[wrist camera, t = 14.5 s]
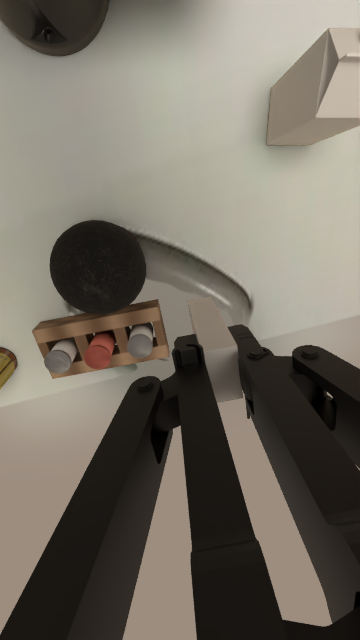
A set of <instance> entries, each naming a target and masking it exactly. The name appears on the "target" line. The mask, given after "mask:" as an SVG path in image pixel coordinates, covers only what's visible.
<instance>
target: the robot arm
mask: <svg viewBox="0 0 360 640" xmlns="http://www.w3.org/2000/svg"><path fill="white" fill-rule="evenodd" d="M108 3H109V0H0V19H1V20H2V21H3V23H4V24H5V25H6V26H7V27H8V28H9V30H10V31H11V32H12V33H13V34H14V35H15V36H16V37H17V38H18V39H20V40H21V41H22V42H23V43H25V44H26V45H28V46H29V47H31V48H32V49H34V50H36V51H39V52H41V53H44V54H48V55H54V56H63V55H69V54H73V53H75V52H77V51H79V50H81V49H83V48H84V47H86V46H87V45H88V44H89V43H90V42H91V41H92V40H93V39H94V38H95V36H96V35H97V33H98V32H99V30H100V28H101V26H102V24H103V22H104V19H105V16H106V12H107V8H108ZM188 306H189V312H190V317H191V323H192V328H193V334H192V335H187V336H182V337H177V339H176V340H175V342H174V345H175V348H174V349H173V351H172V356H173V361H174V365H175V370H176V371H175V373H174V374H173V375H172V376H170V377H169V378H167V379H165V380H163V381H160V380H159V378H157V377H154V376H147V377H142V378H139V379H137V380H136V381H134V382H133V383H132V384H131V386H130V387H129V389H128V391H127V393H126V395H125V396H124V399H123V400H122V402H121V404H120V406H119V408H118V410H117V412H116V414H115V416H114V418H113V419H112V422H111V423H110V425H109V427H108V429H107V431H106V433H105V435H104V437H103V439H102V441H101V443H100V445H99V446H98V448H97V450H96V452H95V454H94V456H93V458H92V460H91V462H90V464H89V466H88V467H87V469H86V471H85V473H84V475H83V477H82V479H81V481H80V483H79V485H78V487H77V489H76V490H75V492H74V494H73V496H72V498H71V500H70V502H69V504H68V506H67V508H66V510H65V512H64V513H63V515H62V517H61V519H60V521H59V523H58V525H57V527H56V529H55V531H54V533H53V535H52V537H51V539H50V541H49V542H48V544H47V546H46V548H45V550H44V552H43V554H42V556H41V558H40V560H39V561H38V563H37V565H36V567H35V569H34V571H33V573H32V575H31V577H30V579H29V581H28V583H27V584H26V586H25V588H24V590H23V592H22V594H21V596H20V598H19V600H18V602H17V604H16V606H15V608H14V609H13V611H12V614H11V615H10V617H9V619H8V621H7V623H6V625H5V627H4V629H3V630H2V633H1V635H0V640H122V638H123V635H124V631H125V627H126V623H127V618H128V614H129V610H130V606H131V602H132V598H133V594H134V590H135V586H136V582H137V578H138V574H139V569H140V565H141V561H142V557H143V553H144V549H145V545H146V541H147V537H148V533H149V529H150V525H151V520H152V516H153V512H154V508H155V504H156V500H157V496H158V492H159V488H160V483H161V479H162V476H163V471H164V467H165V463H166V459H167V455H168V451H169V447H170V442H171V439H172V434H173V428H176V427H178V426H180V425H181V433H182V444H183V454H184V465H185V476H186V487H187V497H188V508H189V519H190V528H191V540H192V552H191V575H192V586H193V598H194V610H195V622H196V633H197V640H360V470H359V469H358V468H357V467H356V465H357V466H358V467H359V468H360V369H358V368H357V367H355V366H353V365H351V364H350V363H348V362H346V361H344V360H342V359H341V358H339V357H337V356H335V355H334V354H332V353H330V352H328V351H326V350H325V349H323V348H320V347H318V346H312V345H305V346H300V347H297V348H296V349H294V351H293V352H292V356H274V354H273V353H272V352H271V351H270V350H269V349H267V348H265V347H261V346H260V344H259V343H258V341H257V340H256V338H255V337H254V336H253V334H252V333H251V331H250V330H249V328H248V327H246V326H244V325H242V324H241V325H235V326H231V327H227V326H226V324H225V322H224V320H223V318H222V316H221V314H220V313H219V311H218V309H217V307H216V305H215V303H214V301H213V300H212V298H211V297H206V298H201V299H196V300H191V301H188ZM242 390H243V392H244V394H245V400H246V409H247V418H248V419H249V418H250V416H251V418H252V421H253V423H254V425H255V428H256V430H257V432H258V435H259V437H260V440H261V442H262V444H263V447H264V449H265V452H266V454H267V456H268V459H269V461H270V464H271V466H272V468H273V471H274V473H275V476H276V478H277V480H278V483H279V485H280V487H281V490H282V492H283V495H284V497H285V499H286V502H287V504H288V507H289V509H290V511H291V514H292V516H293V519H294V521H295V523H296V526H297V528H298V530H299V533H300V535H301V537H302V540H303V542H304V545H305V547H306V549H307V552H308V554H309V556H310V559H311V561H312V564H313V566H314V569H315V571H316V573H317V576H318V578H319V581H320V583H321V586H322V588H323V591H324V594H325V597H326V601H327V605H328V609H329V613H330V617H331V620H332V623H333V624H331V625H329V626H325V627H321V626H315V625H309V624H304V623H298V622H292V621H286V620H282V617H281V614H280V610H279V607H278V603H277V600H276V597H275V593H274V590H273V586H272V583H271V580H270V576H269V573H268V569H267V566H266V563H265V559H264V556H263V553H262V550H261V547H260V544H259V542H258V540H257V539H256V537H255V534H254V531H253V528H252V524H251V521H250V517H249V514H248V510H247V507H246V503H245V500H244V496H243V493H242V489H241V486H240V482H239V479H238V475H237V472H236V469H235V465H234V461H233V458H232V454H231V451H230V448H229V444H228V440H227V437H226V433H225V430H224V426H223V423H222V420H221V416H220V412H219V409H218V405H217V403H218V402H224V401H229V400H234V399H239V398H243V392H242ZM327 392H328V393H329V394H331V395H332V397H333V398H331V397H330V396H328V395H327Z"/></svg>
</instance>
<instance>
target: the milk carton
mask: <svg viewBox="0 0 360 640" xmlns="http://www.w3.org/2000/svg"><path fill="white" fill-rule="evenodd" d="M357 126H360V28H329V29H327V30H326V31H325V32H324V33H323V34H322V36H321V37H320V38H319V39H318V40H317V41H316V42H315V43H314V44H313V45H312V46H311V47H310V48H309V49H308V50H307V51H306V52H305V53H304V54H303V55H302V56H301V57H300V58H299V59H298V61H297V62H296V63H295V64H294V65H293V66H292V67H291V68H290V69H289V70H288V71H287V72H286V73H285V74H284V75H283V76H282V77H281V78H280V79H279V80H278V81H277V82H276V83H275V85H274V86H273V87H272V88H271V98H270V109H269V119H268V130H267V141H266V144H267V145H311V144H314V143H316V142H319V141H321V140H324V139H326V138H329V137H332V136H334V135H337V134H339V133H342V132H344V131H347V130H350V129H352V128H355V127H357Z"/></svg>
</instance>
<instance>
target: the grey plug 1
mask: <svg viewBox="0 0 360 640" xmlns="http://www.w3.org/2000/svg"><path fill="white" fill-rule="evenodd" d="M78 351H79V350H78V347H77V344H76V342H75V339H74V337H70V338H64V339H59V340H58V342H57V343H56V344H55V346H54V347H53V348H52V350H51V351H50V352H49V353H48V354H47V355H46V357H45V359H44V363H45V366H46V368H47V369H48V370H49V371H51V372H53V373H57V374H61V373H65V372H66V371H68V370H69V368H70V366H71V363H72V362H73V360H74V358H75V356H76V354H77V353H78Z"/></svg>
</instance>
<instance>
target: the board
mask: <svg viewBox="0 0 360 640" xmlns="http://www.w3.org/2000/svg"><path fill="white" fill-rule="evenodd" d="M148 322H153V327H154V330H155V334H156V337H154V338H153V340H152V343H153V349H152V352H151V353H150V355H148V356H147V357H145V358H136V357H133V356H132V355H131V354H130V353H129V352H128V350H127V344H128V341H129V338H130V334H131V332H130V328H129V326H132V325H137V324H142V323H148ZM111 329H113V331H114V334H115V338H116V341H117V344H118V345H115V346H114V349H113V352H112V355H111V360H110V363H109V365H108V366H107V367H106V368H103V369H107V368H112V367H118V366H123V365H128V364H133V363H138V362H144V361H148V360H154V359H160V358H165V357H169V346H168V342H167V338H166V333H165V329H164V324H163V320H162V315H161V311H160V306H159V302H158V300H152V301H148V302H141V303H136V304H131V305H128V306H127V307H125V308H123V309H122V310H119V311H116V312H113V313H109V314H91V313H84V314H79V315H74V316H69V317H64V318H59V319H53V320H48V321H43V322H40V323H39V324H38V325H37V326H36V327H35V328H34V329H33V330H32V333H33V335H34V337H35V339H36V342H37V344H38V346H39V349H40V351H41V353H42V356H43V358H44V359H45V357H46V355H47V354H48V353H49V352H50V351H51V350H52V348H53V347H54V346H55V344H56V343H57V340H59V339H64V338H70V337H74V339H75V342H76V344H77V347H78V350H79V352H78V353H77V354H76V356H75V358H74V360H73V362H72V363H71V366H70V368H69V370H68V371H66V372H65V373H61V374H57V373H53V372H51V371H49V372H50V374H51V376H52V379H55V378H60V377H65V376H70V375H76V374H81V373H86V372H91V371H97V370H102V369H93V368H91V367H89V366H88V365H87V364H86V363H85V361H84V354H85V352H86V350H87V349H88V347H89V345H90V343H91V341H92V339H93V337H94V335H93V333H96V332H101V331H106V330H111Z"/></svg>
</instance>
